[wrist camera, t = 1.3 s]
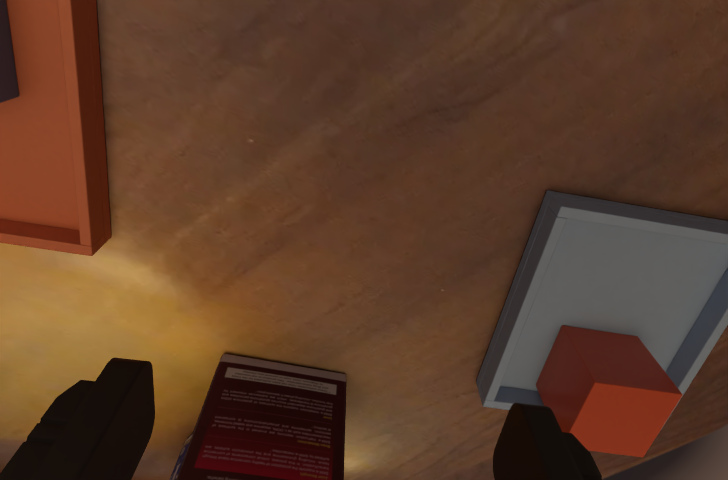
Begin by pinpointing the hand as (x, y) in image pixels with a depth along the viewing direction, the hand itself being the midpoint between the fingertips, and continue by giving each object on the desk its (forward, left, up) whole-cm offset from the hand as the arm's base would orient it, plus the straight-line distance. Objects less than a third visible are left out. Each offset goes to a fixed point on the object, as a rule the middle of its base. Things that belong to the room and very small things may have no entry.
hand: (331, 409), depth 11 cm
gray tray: (+7, +17, -18) cm, 25 cm away
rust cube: (+10, +17, -17) cm, 26 cm away
